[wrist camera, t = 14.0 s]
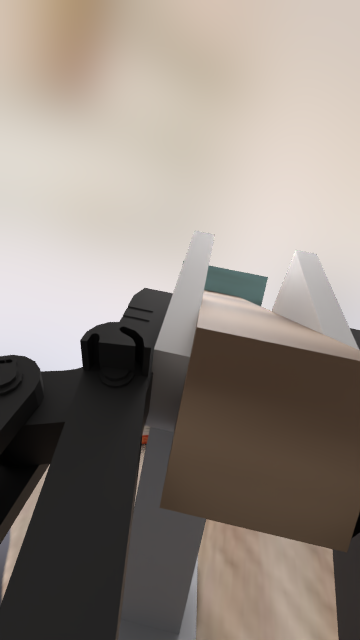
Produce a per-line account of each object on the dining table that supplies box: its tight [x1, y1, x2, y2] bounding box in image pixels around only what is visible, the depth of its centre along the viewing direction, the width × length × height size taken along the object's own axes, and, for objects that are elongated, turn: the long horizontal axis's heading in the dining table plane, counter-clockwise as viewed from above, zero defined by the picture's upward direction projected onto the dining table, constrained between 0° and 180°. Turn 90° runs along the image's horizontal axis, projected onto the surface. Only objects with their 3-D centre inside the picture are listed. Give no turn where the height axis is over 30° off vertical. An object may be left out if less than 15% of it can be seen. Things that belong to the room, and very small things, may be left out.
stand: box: [118, 424, 206, 640], centre depth 38 cm, size 16×12×30 cm
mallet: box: [159, 261, 360, 552], centre depth 17 cm, size 26×7×5 cm, turn 175°
